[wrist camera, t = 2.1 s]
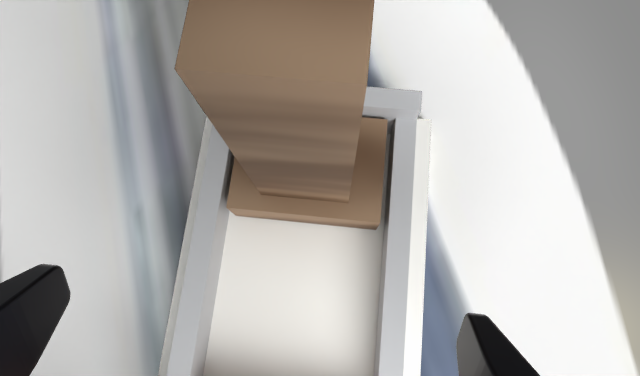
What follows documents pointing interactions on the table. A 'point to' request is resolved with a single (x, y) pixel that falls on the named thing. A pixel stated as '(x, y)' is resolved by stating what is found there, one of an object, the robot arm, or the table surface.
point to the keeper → (290, 105)
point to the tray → (305, 272)
